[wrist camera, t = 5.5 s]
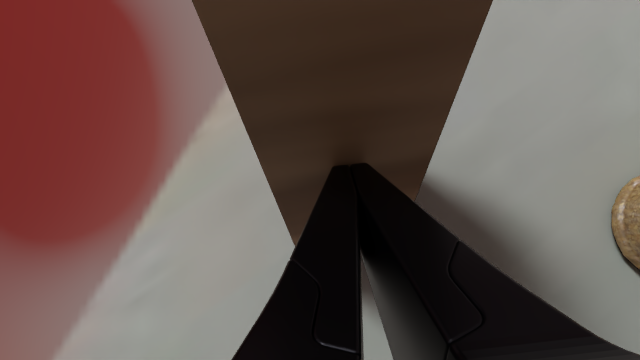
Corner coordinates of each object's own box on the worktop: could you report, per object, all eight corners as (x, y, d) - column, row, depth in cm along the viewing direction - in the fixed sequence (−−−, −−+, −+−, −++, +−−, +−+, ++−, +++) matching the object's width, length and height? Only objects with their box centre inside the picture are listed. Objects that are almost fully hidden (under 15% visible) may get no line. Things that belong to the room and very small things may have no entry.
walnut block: (405, 236, 14) (577, -167, 4) (297, 252, 14) (149, -103, 4) (382, 145, 16) (447, -290, 6) (287, 160, 16) (171, -249, 6)
